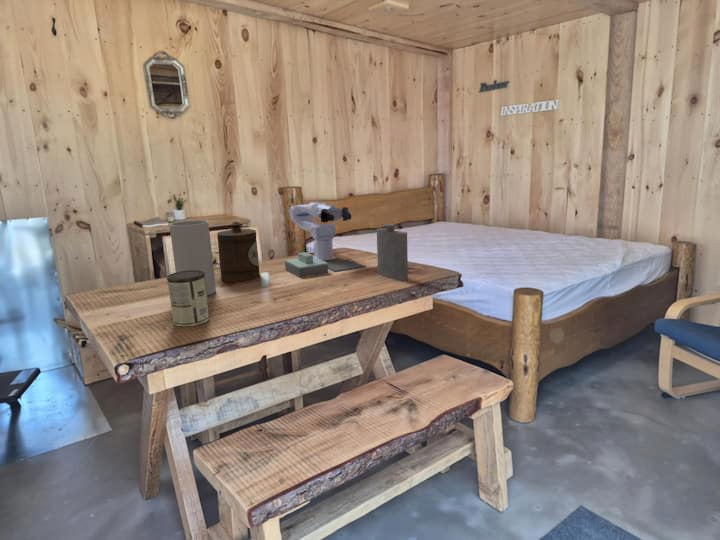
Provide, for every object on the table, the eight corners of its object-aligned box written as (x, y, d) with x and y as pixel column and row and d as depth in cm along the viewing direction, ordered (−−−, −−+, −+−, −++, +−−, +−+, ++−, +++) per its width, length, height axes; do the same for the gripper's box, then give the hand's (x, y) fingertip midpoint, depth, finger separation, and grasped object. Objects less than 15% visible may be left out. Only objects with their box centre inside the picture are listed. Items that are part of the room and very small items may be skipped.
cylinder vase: (222, 289, 174) (215, 220, 168) (203, 299, 162) (194, 225, 156) (192, 288, 177) (184, 220, 171) (171, 298, 166) (161, 225, 160)
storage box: (285, 269, 200) (285, 261, 199) (312, 265, 205) (311, 257, 204) (300, 277, 186) (299, 268, 185) (328, 273, 192) (327, 264, 191)
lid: (285, 262, 199) (284, 252, 198) (312, 258, 205) (311, 249, 204) (299, 270, 185) (298, 259, 184) (327, 265, 191) (327, 255, 190)
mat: (318, 264, 207) (318, 263, 207) (348, 260, 213) (348, 259, 213) (335, 271, 193) (335, 270, 193) (365, 266, 199) (365, 266, 199)
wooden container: (263, 279, 186) (258, 222, 181) (223, 284, 181) (217, 226, 176) (256, 271, 200) (251, 218, 194) (219, 275, 194) (213, 221, 189)
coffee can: (179, 315, 146) (173, 270, 143) (213, 314, 147) (208, 269, 143) (167, 327, 136) (161, 279, 133) (204, 326, 137) (198, 278, 133)
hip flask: (409, 279, 177) (408, 225, 172) (401, 281, 175) (400, 227, 170) (382, 272, 190) (381, 221, 185) (374, 274, 187) (372, 222, 183)
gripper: (312, 204, 203) (325, 208, 191) (343, 202, 209) (357, 206, 198) (312, 220, 205) (325, 226, 193) (343, 218, 211) (357, 223, 200)
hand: (341, 217), depth 196 cm, fingers open, 7 cm apart
